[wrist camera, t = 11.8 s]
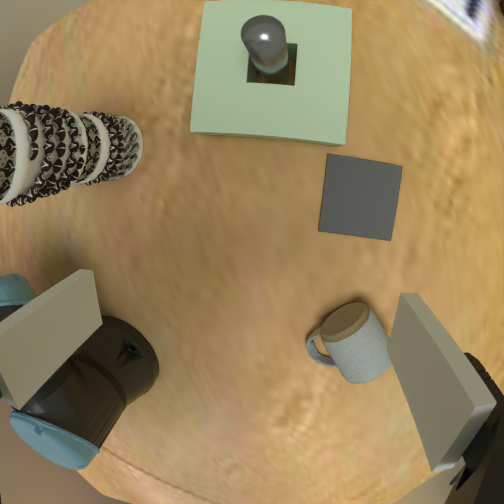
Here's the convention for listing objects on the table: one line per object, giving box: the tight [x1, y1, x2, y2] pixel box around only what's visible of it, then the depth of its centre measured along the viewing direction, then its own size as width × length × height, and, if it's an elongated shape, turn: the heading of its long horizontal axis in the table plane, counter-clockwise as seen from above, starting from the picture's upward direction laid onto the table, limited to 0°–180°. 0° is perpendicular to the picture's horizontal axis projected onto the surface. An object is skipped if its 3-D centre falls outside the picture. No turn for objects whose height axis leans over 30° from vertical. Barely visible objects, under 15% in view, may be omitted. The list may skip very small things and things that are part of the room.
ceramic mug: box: [306, 302, 392, 384], centre depth 36 cm, size 11×8×8 cm
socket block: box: [190, 0, 352, 146], centre depth 28 cm, size 15×15×6 cm
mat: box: [318, 154, 402, 241], centre depth 34 cm, size 9×9×1 cm
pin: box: [241, 15, 290, 85], centre depth 24 cm, size 3×3×14 cm
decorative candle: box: [0, 101, 144, 207], centre depth 24 cm, size 9×9×25 cm
